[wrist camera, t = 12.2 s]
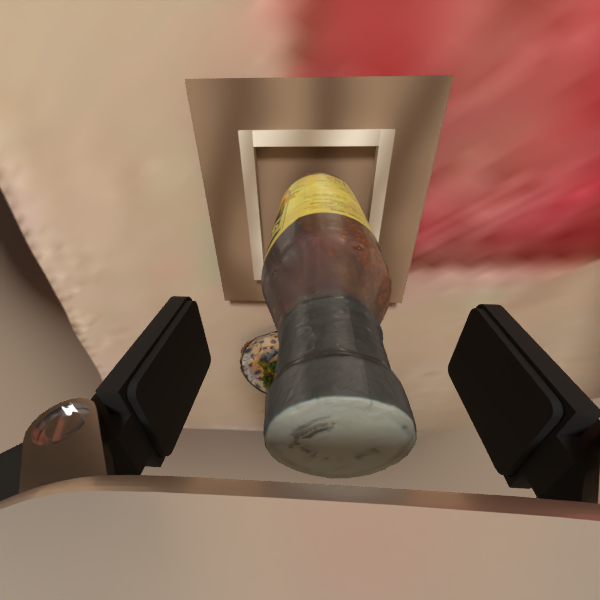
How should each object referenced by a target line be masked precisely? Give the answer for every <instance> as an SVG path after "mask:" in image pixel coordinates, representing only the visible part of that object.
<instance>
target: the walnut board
mask: <svg viewBox="0 0 600 600" xmlns="http://www.w3.org/2000/svg"><path fill="white" fill-rule="evenodd" d="M453 76H454V75H445V76H371V77H297V78H224V79H185V84H186V89H187V95H188V100H189V106H190V111H191V117H192V122H193V128H194V133H195V139H196V144H197V149H198V155H199V160H200V166H201V171H202V177H203V182H204V188H205V193H206V199H207V204H208V210H209V215H210V221H211V226H212V232H213V237H214V243H215V248H216V254H217V259H218V265H219V270H220V276H221V281H222V287H223V292H224V298H225V300H230V301H265V299H264V296H263V292H262V287H261V275H262V269H263V264H264V260H265V256H266V252H267V248H268V246H269V242H270V238H271V234H272V231H273V227H274V224H275V221H276V217H277V213H278V210H279V206H280V203H281V200H282V197H283V195H284V193H285V192H286V191H287V190H288V188H289V187H290V186H291V185H292V184H293V183H294V182H295V181H296V180H298V179H299V178H300V177H302V176H304V175H306V174H309V173H327V174H333V175H334V176H337V177H338V178H339V179H340V180H342V181H343V182H345V183H346V184H347V185H348V186H349V187H350V189H351V190H352V192H353V193H354V195H355V197H356V199H357V201H358V203H359V205H360V207H361V209H362V211H363V213H364V215H365V217H366V219H367V221H368V223H369V225H370V227H371V229H372V231H373V233H374V235H375V237H376V239H377V241H378V243H379V246H380V249H381V254H382V257H383V258H384V261H385V262H386V264H387V266H388V268H389V275H390V278H391V280H392V285H391V286H392V287H391V289H392V293H391V297H390V303H402V299H403V295H404V290H405V286H406V281H407V277H408V273H409V268H410V264H411V260H412V255H413V251H414V247H415V242H416V238H417V233H418V229H419V225H420V220H421V216H422V212H423V207H424V203H425V198H426V194H427V190H428V185H429V181H430V177H431V172H432V168H433V164H434V159H435V155H436V150H437V146H438V142H439V137H440V133H441V129H442V124H443V120H444V115H445V111H446V107H447V102H448V98H449V94H450V89H451V85H452V80H453Z"/></svg>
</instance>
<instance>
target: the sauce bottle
mask: <svg viewBox="0 0 600 600" xmlns="http://www.w3.org/2000/svg"><path fill="white" fill-rule="evenodd" d="M391 285H392V280H391V278H390V275H389V268H388V266H387V264H386V262H385V261H384V258H383V257H382V254H381V249H380V246H379V243H378V241H377V239H376V237H375V235H374V233H373V231H372V229H371V227H370V225H369V223H368V221H367V219H366V217H365V215H364V213H363V211H362V209H361V207H360V205H359V203H358V201H357V199H356V197H355V195H354V193H353V192H352V190H351V189H350V187H349V186H348V185H347V184H346V183H345V182H343V181H342V180H340V179H339V178H338V177H337V176H334V175H333V174H327V173H309V174H306V175H304V176H302V177H300V178H299V179H298V180H296V181H295V182H294V183H293V184H292V185H291V186H290V187H289V188H288V190H287V191H286V192H285V193H284V195H283V197H282V200H281V203H280V206H279V210H278V213H277V217H276V221H275V224H274V227H273V231H272V234H271V238H270V242H269V246H268V248H267V252H266V256H265V260H264V264H263V269H262V275H261V287H262V292H263V296H264V299H265V301H266V303H267V306H268V308H269V311H270V313H271V316H272V318H273V321H274V323H275V326H276V329H277V332H278V342H279V350H278V357H277V366H276V377H275V378H274V381H273V382H272V384H271V385H270V387H269V389H268V392H267V395H266V402H265V420H264V439H265V446H266V448H267V449H268V451H269V453H270V454H271V456H272V457H274V458H275V459H276V460H277V461H278V462H280V463H282V464H284V465H285V466H288V467H290V468H292V469H294V470H296V471H300V472H303V473H307V474H310V475H315V476H321V477H326V478H350V477H359V476H365V475H369V474H373V473H376V472H378V471H381V470H384V469H386V468H387V467H389V466H391V465H394V464H396V463H398V462H399V461H401V460H402V459H403V458H404V457H405V456H407V455H408V454H409V452H410V451H411V449H412V448H413V446H414V444H415V442H416V424H415V421H414V417H413V413H412V410H411V408H410V404H409V401H408V399H407V396H406V394H405V391H404V389H403V386H402V384H401V382H400V381H399V379H398V378H397V377H396V375H395V374H394V373H393V371H392V370H391V368H390V364H389V361H388V358H387V354H386V352H385V349H384V345H383V342H382V341H383V334H382V329H381V327H380V324H381V322H382V320H383V318H384V316H385V314H386V311H387V309H388V307H389V303H390V297H391V293H392V289H391V287H392V286H391Z"/></svg>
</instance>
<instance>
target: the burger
mask: <svg viewBox="0 0 600 600" xmlns="http://www.w3.org/2000/svg"><path fill="white" fill-rule="evenodd" d="M278 350H279V342H278V332H277V331H275V332H272V333H269V334H266V335H263V336H259V337H256V338H255V339H254V340H252V341H248V342H247V343H246V344H245V345H244V347H242V350H241V353H242V357H241V360H240V364H241V367H240V368H241V371H242V373H243V375H244V376H245V378H246V379H247V381H249V382H250V383H251V384H252V385H253V386H254V387H255V388H256V389H258V390H259V391H261V392H263V393H265V394H267V392H268V389H269V387H270V385H271V384H272V382H273V381H274V378H275V377H276V366H277V357H278Z"/></svg>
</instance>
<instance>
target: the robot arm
mask: <svg viewBox="0 0 600 600" xmlns="http://www.w3.org/2000/svg"><path fill="white" fill-rule="evenodd" d="M210 362H211V356H210V352H209V348H208V344H207V340H206V337H205V333H204V329H203V325H202V321H201V317H200V313H199V309H198V305H197V303H196V301H192V299H191V298H190V297H179V296H173V297H171V298H170V299H169V300H168V302H167V303H166V304H165V305H164V307H163V308H162V309H161V310H160V311H159V313H158V314H157V315H156V316H155V318H154V319H153V320H152V321H151V323H150V324H149V325H148V326H147V328H146V329H145V330H144V331H143V333H142V334H141V335H140V336H139V337H138V339H137V340H136V341H135V342H134V344H133V345H132V346H131V347H130V349H129V350H128V351H127V352H126V354H125V355H124V356H123V357H122V358H121V360H120V361H119V362H118V363H117V365H116V366H115V367H114V368H113V370H112V371H111V372H110V373H109V375H108V376H107V377H106V378H105V380H104V381H103V382H102V383H101V385H100V386H99V387H98V388H97V389H96V394H95V395H94V396H93V397H92V399H91V400H90V399H88V398H73V399H69V400H66V401H63V402H60V403H58V404H57V405H55V406H52V407H51V408H49V409H48V410H46V411H45V412H43V413H42V414H41V415H39V416H38V417H37V418H36V419H35V420H34V421H33V422H32V423H31V425H30V426H29V428H28V429H27V431H26V432H25V436H24V439H23V443H21V444H19V445H17V446H15V447H13V448H11V449H9V450H7V451H5V452H3V453H1V454H0V600H600V420H599V419H598V418H599V417H600V409H599V408H598V407H597V406H596V405H595V404H594V403H593V402H592V401H591V400H590V399H589V397H588V396H587V395H586V394H585V393H584V392H583V391H582V390H581V389H580V388H579V387H578V386H577V385H576V384H575V383H574V382H573V381H572V380H571V379H570V377H569V376H568V375H567V374H566V373H565V372H564V371H563V370H562V369H561V368H560V367H559V366H558V365H557V364H556V363H555V362H554V361H553V360H552V358H551V357H550V356H549V355H548V354H547V353H546V352H545V351H544V350H543V349H542V348H541V347H540V346H539V345H538V344H537V343H536V342H535V341H534V340H533V338H532V337H531V336H530V335H529V334H528V333H527V332H526V331H525V330H524V329H523V328H522V327H521V326H520V325H519V324H518V323H517V322H516V321H515V319H514V318H513V317H512V316H511V315H510V314H509V313H508V312H507V311H506V310H505V309H504V308H503V307H502V306H501V305H492V304H480V305H478V306H477V307H476V308H474V309H472V310H471V311H470V314H469V316H468V318H467V321H466V323H465V326H464V328H463V331H462V333H461V336H460V338H459V341H458V343H457V345H456V348H455V350H454V353H453V355H452V358H451V360H450V363H449V365H448V373H449V376H450V378H451V380H452V382H453V384H454V386H455V388H456V390H457V392H458V394H459V396H460V398H461V400H462V402H463V404H464V406H465V408H466V410H467V412H468V414H469V416H470V418H471V420H472V422H473V424H474V426H475V428H476V430H477V432H478V434H479V436H480V438H481V440H482V442H483V444H484V446H485V448H486V450H487V452H488V454H489V456H490V458H491V460H492V463H493V465H494V467H495V468H496V470H497V471H498V473H499V474H501V475H504V477H505V479H506V481H507V483H508V485H509V487H510V488H527V489H529V488H531V487H532V489H533V491H534V492H535V494H536V496H537V497H536V498H527V497H515V496H500V495H484V494H468V493H454V492H438V491H423V490H422V491H421V490H406V489H391V488H373V487H358V486H357V487H356V486H340V485H324V484H307V483H290V482H272V481H271V482H270V481H254V480H235V479H216V478H197V477H174V476H146V475H144V476H143V475H140V474H141V473H142V471H143V469H144V467H145V466H151V467H161V465H162V463H163V461H164V459H165V456H169V455H170V454H171V453H172V451H173V449H174V447H175V444H176V442H177V440H178V438H179V435H180V433H181V431H182V428H183V426H184V424H185V422H186V419H187V417H188V415H189V412H190V410H191V408H192V405H193V403H194V401H195V399H196V396H197V394H198V392H199V389H200V387H201V385H202V382H203V380H204V378H205V376H206V373H207V371H208V369H209V366H210Z"/></svg>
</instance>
